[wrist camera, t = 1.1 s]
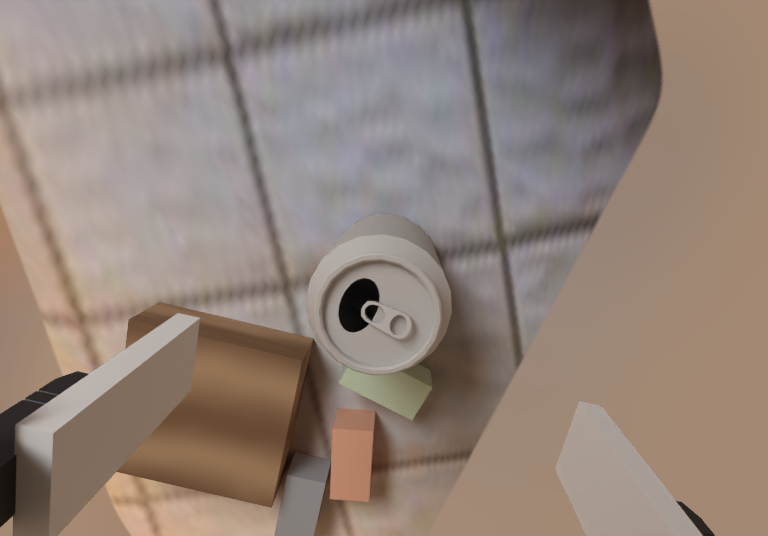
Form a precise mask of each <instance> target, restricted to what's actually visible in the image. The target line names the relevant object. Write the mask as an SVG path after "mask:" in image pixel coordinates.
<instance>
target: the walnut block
mask: <svg viewBox="0 0 768 536" xmlns="http://www.w3.org/2000/svg"><path fill="white" fill-rule="evenodd" d="M177 313H180V314H185V315H189V316H194V317H198V318H200V323H199V331H198V339H197V347H196V355H195V363H194V372H193V380H192V388H191V391H190V392H189V393H188V394H187V395H186V396H185V397H184V399H183V400H182V401H181V402H180V403H179V404H178V405H177V406H176V407H175V408H174V409H173V411H172V412H171V413H170V414H169V415H168V416H167V417H166V418H165V419H164V420H163V421H162V422H161V424H160V425H159V426H158V427H157V428H156V429H155V430H154V431H153V432H152V433H151V434H150V436H149V437H148V438H147V439H146V440H145V441H144V442H143V443H142V444H141V445H140V446H139V448H138V449H137V450H136V451H135V452H134V453H133V454H132V455H131V456H130V457H129V458H128V460H127V461H126V462H125V463H124V464H123V465H122V466H121V467H120V468H119V469H118V470H117V471H116V472H120V473H124V474H128V475H133V476H137V477H141V478H146V479H150V480H154V481H159V482H163V483H167V484H172V485H176V486H180V487H185V488H189V489H193V490H198V491H202V492H206V493H211V494H215V495H219V496H224V497H228V498H232V499H237V500H241V501H245V502H250V503H254V504H258V505H263V506H267V507H272V505H273V502H274V499H275V497H276V494H277V491H278V489H279V486H280V484H281V481H282V478H283V476H284V473H285V469H286V465H287V460H288V455H289V451H290V446H291V441H292V437H293V432H294V427H295V423H296V418H297V413H298V409H299V404H300V399H301V395H302V390H303V385H304V381H305V376H306V371H307V367H308V362H309V357H310V353H311V348H312V343H313V338H308V337H304V336H300V335H296V334H292V333H287V332H283V331H279V330H275V329H270V328H266V327H262V326H258V325H253V324H249V323H245V322H241V321H237V320H232V319H228V318H224V317H220V316H215V315H211V314H207V313H203V312H199V311H194V310H190V309H186V308H182V307H177V306H173V305H169V304H165V303H161V302H159V303H157V304H155V305H154V306H152V307H150V308H148V309H147V310H145V311H143V312H141V313H140V314H138V315H136V316H134V317H133V318H131V319H129V322H128V331H127V340H126V348H128V347H129V346H131V345H132V344H134V343H135V342H136V341H138V340H139V339H141V338H142V337H144V336H145V335H147V334H148V333H150V332H151V331H152V330H154V329H155V328H157V327H158V326H160V325H161V324H163V323H164V322H166V321H167V320H168V319H170V318H171V317H173V316H174V315H176V314H177ZM126 348H125V349H126Z"/></svg>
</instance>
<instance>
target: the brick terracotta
mask: <svg viewBox="0 0 768 536" xmlns="http://www.w3.org/2000/svg"><path fill="white" fill-rule="evenodd" d="M374 426H375V411H365V410H352V409H337V413H336V417H335V420H334V424H333V428H332V453H331V480H330V499H335V500H348V501H361V502H369V498H370V487H371V476H372V460H373V443H374Z"/></svg>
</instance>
